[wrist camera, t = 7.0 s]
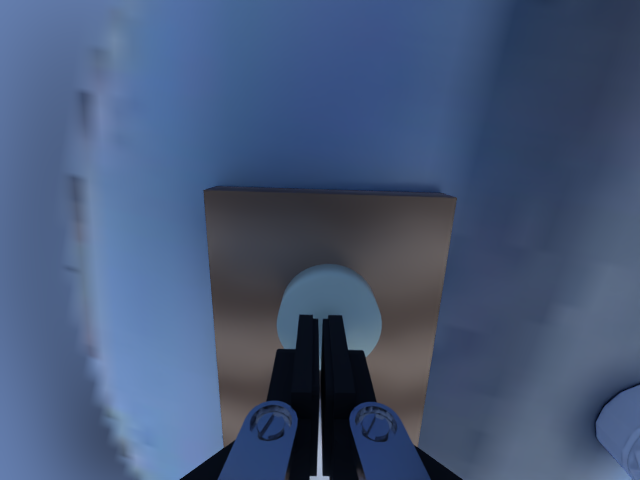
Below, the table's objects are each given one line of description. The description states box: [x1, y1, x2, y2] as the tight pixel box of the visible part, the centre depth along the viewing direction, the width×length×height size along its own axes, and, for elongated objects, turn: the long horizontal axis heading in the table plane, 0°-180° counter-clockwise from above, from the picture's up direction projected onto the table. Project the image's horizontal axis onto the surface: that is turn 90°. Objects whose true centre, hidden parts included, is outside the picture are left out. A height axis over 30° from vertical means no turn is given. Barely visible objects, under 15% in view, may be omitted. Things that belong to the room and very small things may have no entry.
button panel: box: [203, 186, 457, 447], centre depth 19 cm, size 25×13×2 cm, turn 178°
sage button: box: [277, 264, 382, 370], centre depth 14 cm, size 4×4×3 cm
